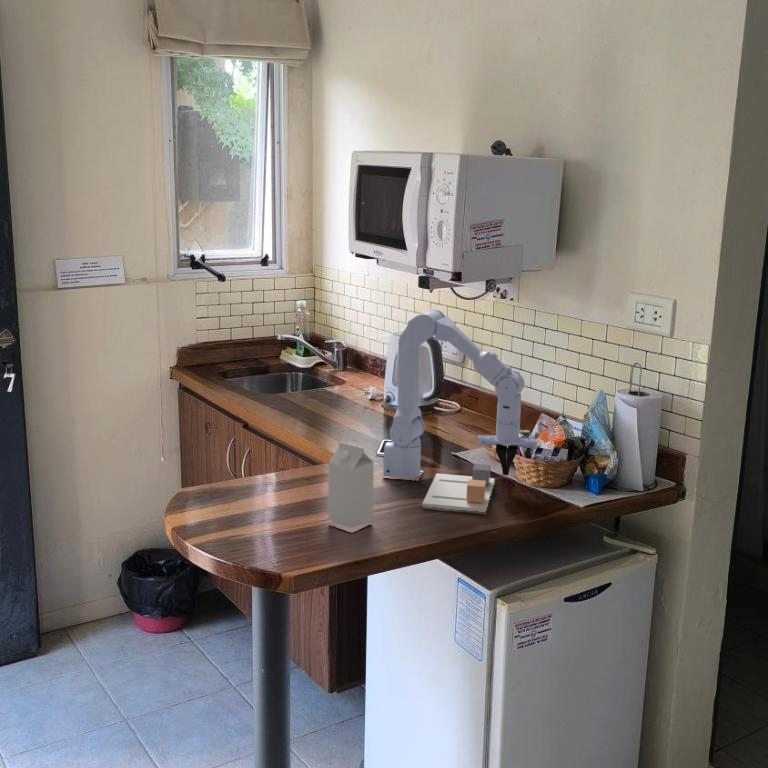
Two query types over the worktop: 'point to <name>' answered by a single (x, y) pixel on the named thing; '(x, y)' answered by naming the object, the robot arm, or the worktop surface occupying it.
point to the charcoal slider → (481, 473)
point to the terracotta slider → (476, 491)
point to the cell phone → (382, 446)
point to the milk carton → (350, 486)
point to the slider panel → (454, 493)
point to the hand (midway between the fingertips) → (505, 473)
